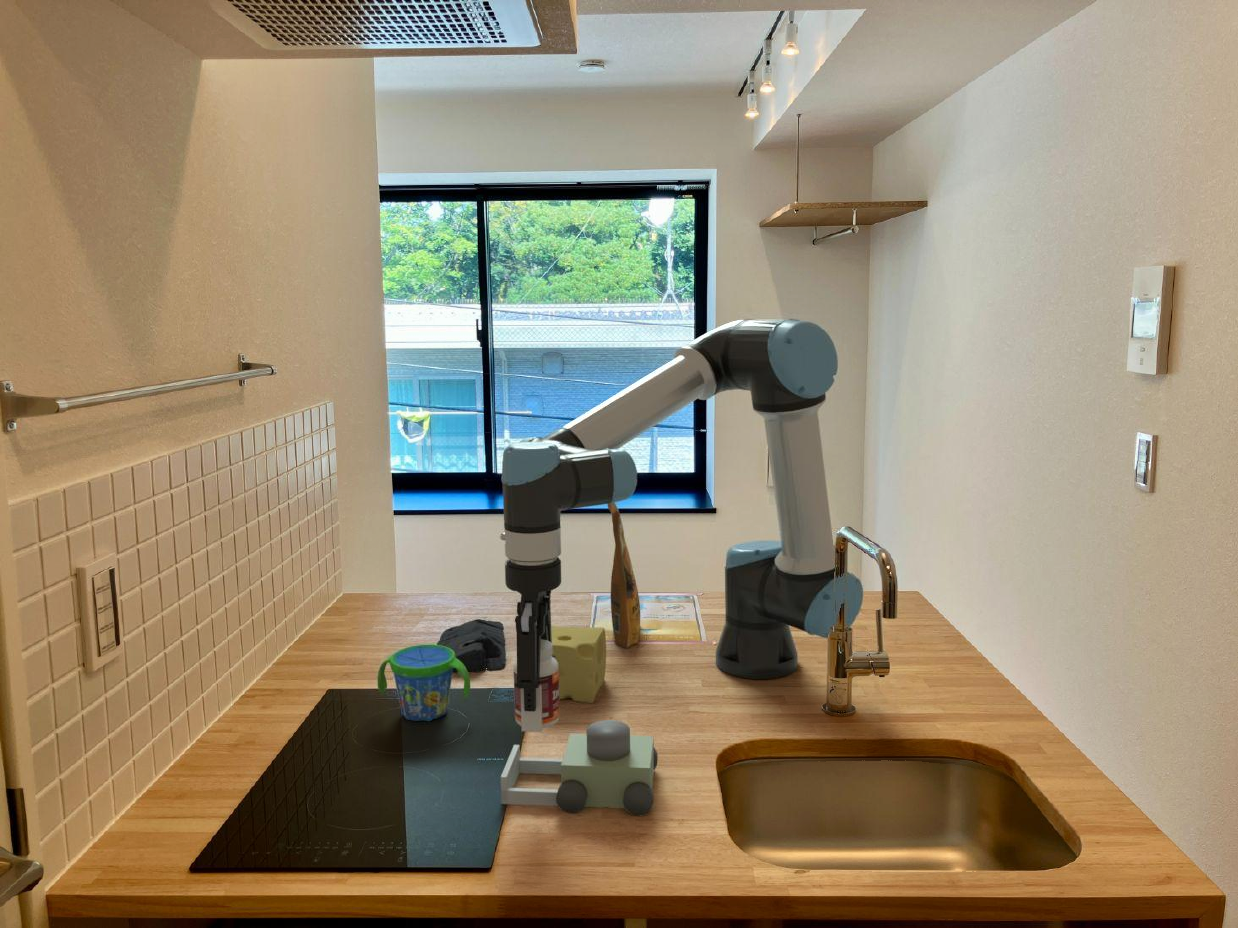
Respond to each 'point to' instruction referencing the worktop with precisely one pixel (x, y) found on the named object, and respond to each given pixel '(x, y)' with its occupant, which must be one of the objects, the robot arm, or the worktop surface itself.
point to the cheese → (579, 661)
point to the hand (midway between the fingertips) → (536, 718)
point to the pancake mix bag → (623, 589)
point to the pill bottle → (543, 687)
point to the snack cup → (423, 680)
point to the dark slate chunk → (477, 645)
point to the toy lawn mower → (590, 772)
